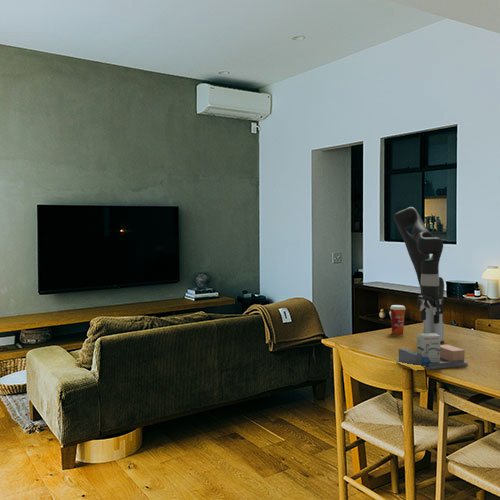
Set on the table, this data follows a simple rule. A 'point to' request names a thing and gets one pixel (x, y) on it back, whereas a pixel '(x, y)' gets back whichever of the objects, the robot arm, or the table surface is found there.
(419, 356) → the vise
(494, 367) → the table surface
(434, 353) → the ink box
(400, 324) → the coffee cup
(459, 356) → the pink rectangular block
